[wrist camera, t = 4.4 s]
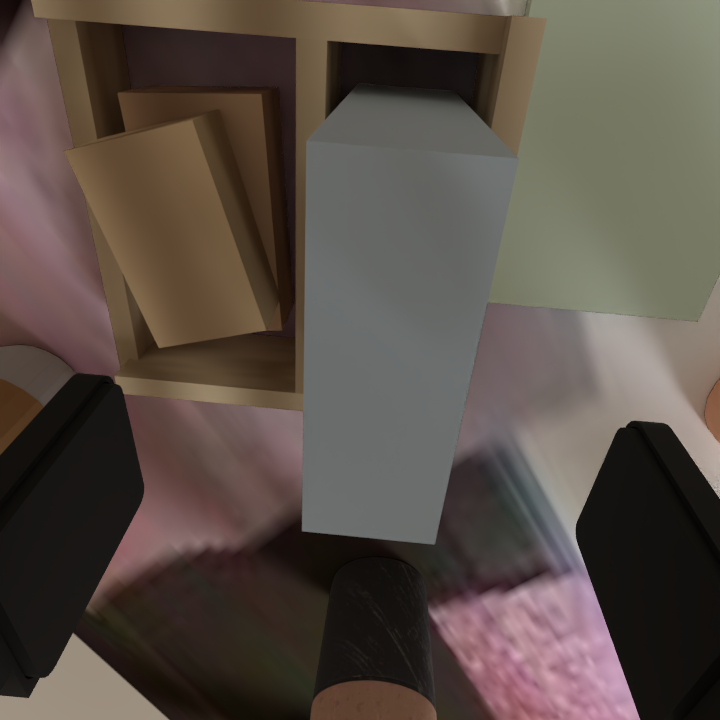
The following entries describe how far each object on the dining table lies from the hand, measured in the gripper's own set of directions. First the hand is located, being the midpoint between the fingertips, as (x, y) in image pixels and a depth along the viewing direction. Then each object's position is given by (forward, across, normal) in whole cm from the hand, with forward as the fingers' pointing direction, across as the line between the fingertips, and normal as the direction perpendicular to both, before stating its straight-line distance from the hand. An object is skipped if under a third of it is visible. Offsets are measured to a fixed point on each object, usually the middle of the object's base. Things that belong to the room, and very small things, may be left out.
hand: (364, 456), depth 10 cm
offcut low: (+17, +7, +1) cm, 19 cm away
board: (+17, -10, -3) cm, 20 cm away
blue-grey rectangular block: (+17, -1, +1) cm, 17 cm away
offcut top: (+14, +8, +1) cm, 16 cm away
